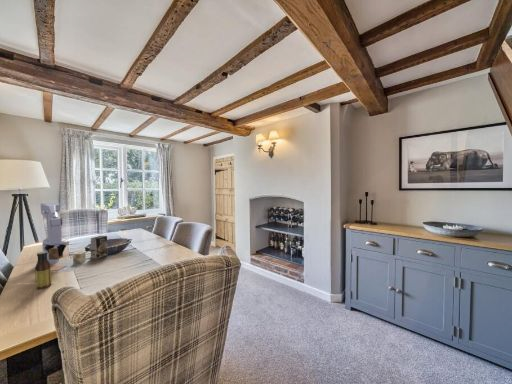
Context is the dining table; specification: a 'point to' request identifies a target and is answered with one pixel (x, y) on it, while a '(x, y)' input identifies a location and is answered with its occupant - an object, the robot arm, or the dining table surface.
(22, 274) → the dining table surface
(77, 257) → the birch block
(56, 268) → the terracotta pad
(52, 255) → the walnut block
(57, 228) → the robot arm
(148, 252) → the dining table surface
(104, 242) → the coffee box
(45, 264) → the sauce bottle
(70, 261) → the board
